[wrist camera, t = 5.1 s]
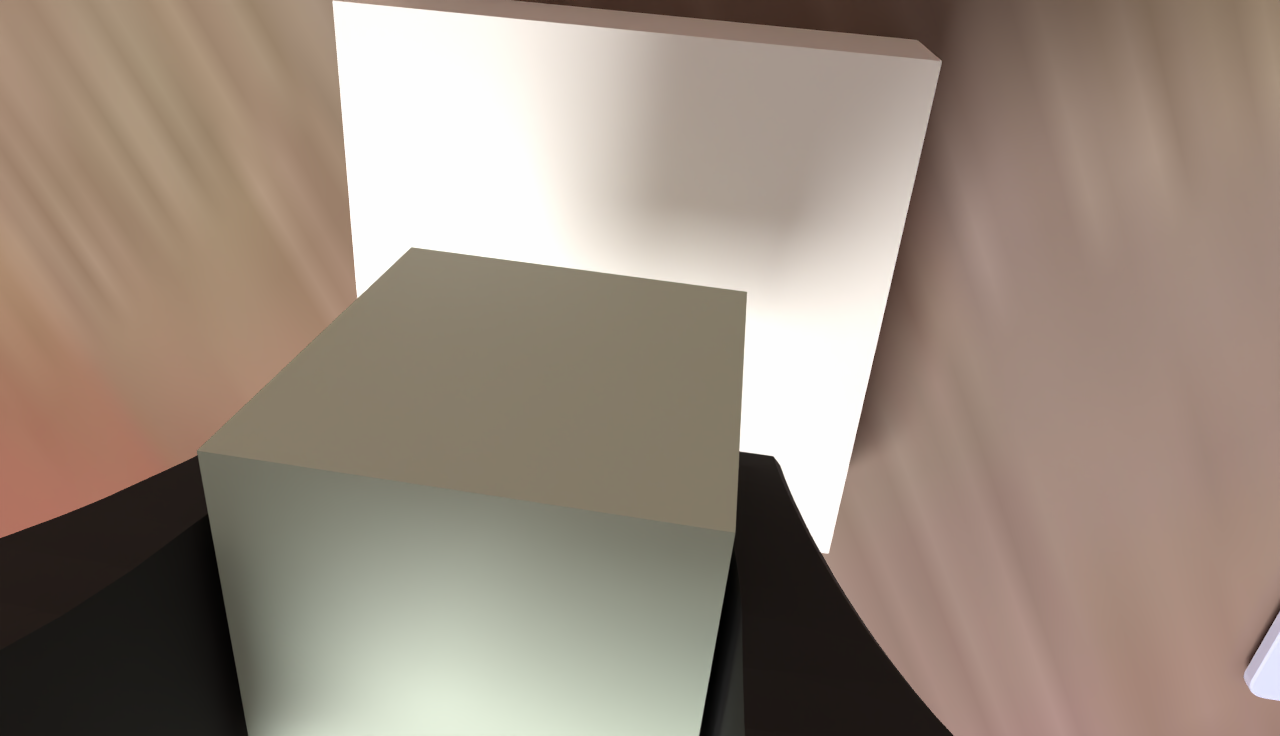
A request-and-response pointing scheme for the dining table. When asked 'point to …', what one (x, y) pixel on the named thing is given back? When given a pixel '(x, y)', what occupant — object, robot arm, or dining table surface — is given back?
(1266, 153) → the dining table surface
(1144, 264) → the dining table surface
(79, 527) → the robot arm
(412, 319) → the sage block
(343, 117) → the base block
